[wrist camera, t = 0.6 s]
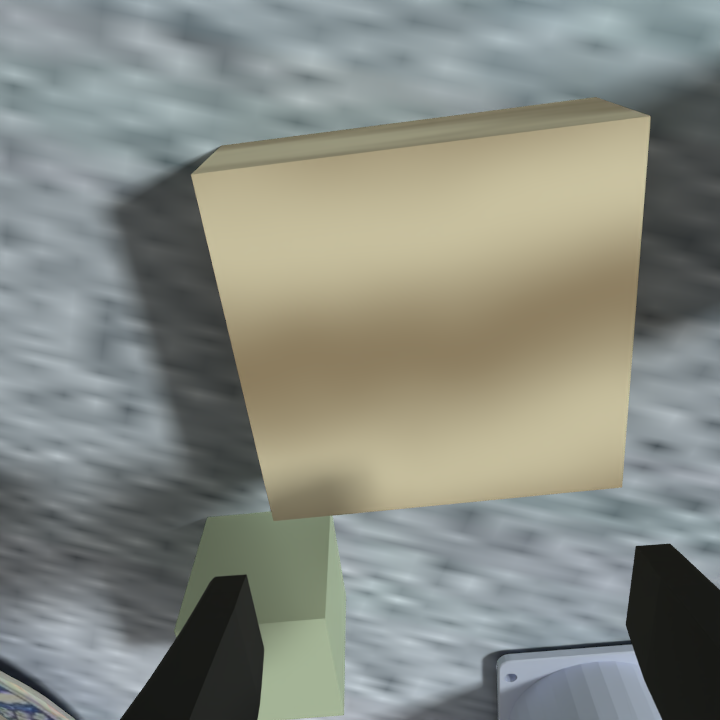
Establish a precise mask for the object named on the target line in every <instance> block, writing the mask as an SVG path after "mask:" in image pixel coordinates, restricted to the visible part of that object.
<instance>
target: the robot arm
mask: <svg viewBox="0 0 720 720" xmlns="http://www.w3.org/2000/svg"><path fill="white" fill-rule="evenodd" d="M626 627H627V630H628V633H629V636H630V639H631V643H632V644H629V645H617V646H604V647H591V648H578V649H566V650H553V651H540V652H528V653H515V654H506V655H503V656H501V657H500V658H499V659H498V661H497V697H498V720H720V590H719V589H718V588H717V587H716V586H715V585H714V584H713V583H712V582H711V581H710V580H709V579H708V578H706V577H705V576H704V575H703V574H702V573H701V572H700V571H699V570H698V569H697V568H696V567H695V566H694V565H693V564H691V563H690V562H689V561H688V560H687V559H686V558H685V557H684V556H683V555H682V554H681V553H680V552H679V551H677V550H676V549H675V548H674V547H673V546H672V545H671V544H659V545H645V546H636V549H635V557H634V565H633V573H632V580H631V588H630V596H629V604H628V611H627V619H626ZM263 662H264V645H263V641H262V637H261V633H260V628H259V624H258V620H257V616H256V612H255V607H254V603H253V599H252V595H251V590H250V586H249V582H248V578H247V574H245V575H232V576H218V577H214V578H213V579H212V580H211V581H210V583H209V584H208V586H207V588H206V590H205V591H204V593H203V595H202V597H201V598H200V600H199V602H198V603H197V605H196V607H195V608H194V610H193V612H192V613H191V615H190V617H189V618H188V620H187V622H186V623H185V625H184V627H183V628H182V630H181V631H180V633H179V635H178V636H177V638H176V639H175V641H174V643H173V644H172V646H171V647H170V649H169V650H168V652H167V653H166V655H165V656H164V658H163V659H162V661H161V662H160V664H159V665H158V667H157V668H156V670H155V671H154V673H153V674H152V676H151V677H150V679H149V680H148V682H147V683H146V685H145V686H144V687H143V689H142V690H141V692H140V693H139V694H138V696H137V697H136V698H135V700H134V701H133V703H132V704H131V705H130V707H129V708H128V709H127V711H126V712H125V714H124V715H123V716H122V718H121V719H120V720H257V719H258V714H259V708H260V699H261V688H262V676H263Z"/></svg>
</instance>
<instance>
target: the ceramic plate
mask: <svg viewBox="0 0 720 720" xmlns="http://www.w3.org/2000/svg"><path fill="white" fill-rule="evenodd" d="M0 720H75V719H74V718H73V717H71V716H70V715H69V714H67V713H66V712H65V711H64V710H62V709H61V708H60V707H58V706H57V705H56V704H54V703H53V702H52V701H50V700H49V699H48V698H46V697H45V696H43V695H42V694H40V693H39V692H38V691H36V690H34V689H33V688H31V687H29V686H27V685H25V684H24V683H22V682H20V681H18V680H16V679H14V678H13V677H11V676H9V675H7V674H5V673H3V672H1V671H0Z"/></svg>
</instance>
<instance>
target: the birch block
mask: <svg viewBox="0 0 720 720" xmlns="http://www.w3.org/2000/svg"><path fill="white" fill-rule="evenodd" d="M650 119H651V116H649V115H646V114H643V113H640V112H637V111H634V110H632V109H629V108H626V107H623V106H620V105H617V104H614V103H611V102H608V101H605V100H602V99H600V98H597V97H594V98H586V99H578V100H571V101H563V102H555V103H547V104H540V105H532V106H524V107H517V108H509V109H501V110H493V111H486V112H478V113H470V114H462V115H455V116H447V117H439V118H432V119H424V120H416V121H408V122H401V123H393V124H385V125H378V126H370V127H362V128H354V129H347V130H339V131H331V132H324V133H316V134H308V135H300V136H293V137H285V138H277V139H269V140H262V141H254V142H246V143H239V144H231V145H223V146H220V147H219V148H218V149H217V150H216V151H215V152H214V153H213V154H212V155H211V156H210V157H209V158H208V159H207V160H206V161H205V162H204V163H203V164H202V165H201V166H199V167H198V168H197V169H196V170H195V171H194V172H193V173H192V174H191V176H192V181H193V185H194V189H195V193H196V198H197V202H198V206H199V210H200V214H201V219H202V223H203V227H204V231H205V235H206V240H207V244H208V248H209V252H210V256H211V261H212V265H213V269H214V273H215V277H216V282H217V286H218V290H219V294H220V298H221V303H222V307H223V311H224V315H225V319H226V324H227V328H228V332H229V336H230V340H231V345H232V349H233V353H234V357H235V361H236V366H237V370H238V374H239V378H240V382H241V387H242V391H243V395H244V399H245V404H246V408H247V412H248V416H249V420H250V425H251V429H252V433H253V437H254V441H255V446H256V450H257V454H258V458H259V462H260V467H261V471H262V475H263V479H264V483H265V488H266V492H267V496H268V500H269V504H270V509H271V513H272V517H273V521H281V520H291V519H301V518H312V517H322V516H332V515H342V514H353V513H363V512H373V511H383V510H394V509H404V508H414V507H425V506H435V505H445V504H455V503H466V502H476V501H486V500H496V499H507V498H517V497H527V496H537V495H548V494H558V493H568V492H578V491H589V490H599V489H609V488H619V487H622V480H623V467H624V454H625V441H626V428H627V415H628V402H629V390H630V377H631V364H632V351H633V338H634V325H635V312H636V299H637V287H638V274H639V261H640V248H641V235H642V222H643V209H644V197H645V184H646V171H647V158H648V145H649V132H650Z"/></svg>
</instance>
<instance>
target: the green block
mask: <svg viewBox="0 0 720 720" xmlns="http://www.w3.org/2000/svg"><path fill="white" fill-rule="evenodd" d="M245 574H247V578H248V582H249V586H250V590H251V595H252V599H253V603H254V607H255V612H256V616H257V620H258V624H259V628H260V633H261V637H262V641H263V645H264V662H263V676H262V688H261V699H260V708H259V714H258V719H257V720H287V719H300V718H313V717H326V716H339V715H344V680H345V618H346V594H345V588H344V582H343V576H342V570H341V564H340V558H339V552H338V546H337V540H336V534H335V528H334V523H333V517H332V516H322V517H312V518H301V519H291V520H281V521H273V517H272V513H271V512H261V513H250V514H239V515H228V516H217V517H207V520H206V524H205V527H204V530H203V534H202V537H201V541H200V544H199V547H198V551H197V554H196V558H195V561H194V564H193V568H192V571H191V575H190V578H189V582H188V585H187V588H186V592H185V595H184V599H183V602H182V605H181V609H180V612H179V616H178V619H177V623H176V626H175V629H174V632H175V635H176V638H177V636H178V635H179V633H180V631H181V630H182V628H183V627H184V625H185V623H186V622H187V620H188V618H189V617H190V615H191V613H192V612H193V610H194V608H195V607H196V605H197V603H198V602H199V600H200V598H201V597H202V595H203V593H204V591H205V590H206V588H207V586H208V584H209V583H210V581H211V580H212V579H213V578H214V577H218V576H232V575H245Z"/></svg>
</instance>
